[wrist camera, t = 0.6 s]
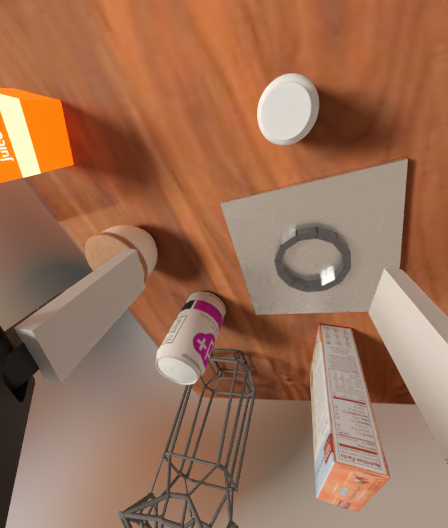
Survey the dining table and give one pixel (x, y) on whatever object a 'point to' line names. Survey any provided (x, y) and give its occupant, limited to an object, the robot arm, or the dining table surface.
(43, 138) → the orange juice
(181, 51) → the dining table surface
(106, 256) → the lidded jar
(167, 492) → the geometric lantern
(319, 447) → the cracker box
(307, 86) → the supplement bottle
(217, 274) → the dining table surface
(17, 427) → the robot arm
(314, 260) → the plate
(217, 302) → the supplement can
